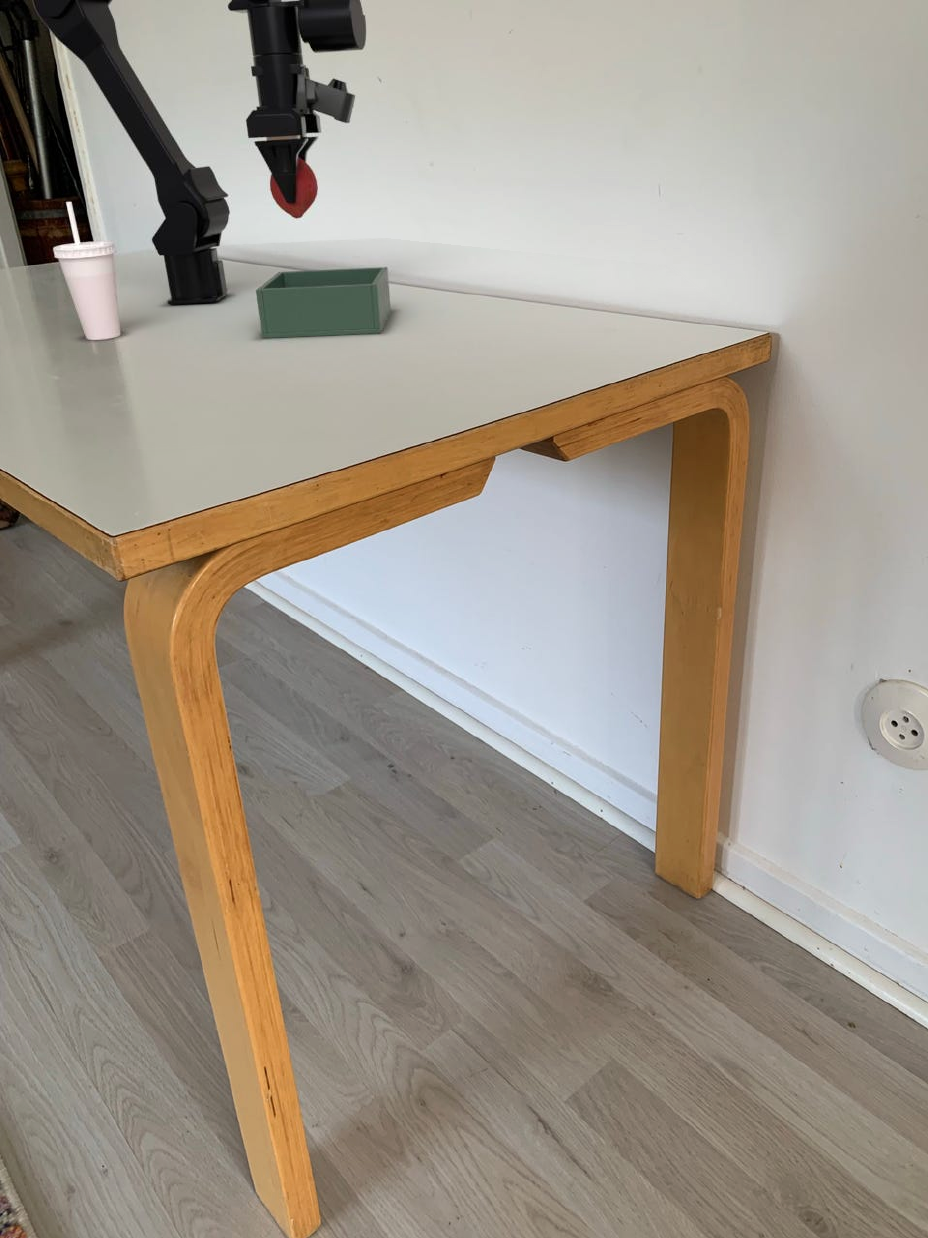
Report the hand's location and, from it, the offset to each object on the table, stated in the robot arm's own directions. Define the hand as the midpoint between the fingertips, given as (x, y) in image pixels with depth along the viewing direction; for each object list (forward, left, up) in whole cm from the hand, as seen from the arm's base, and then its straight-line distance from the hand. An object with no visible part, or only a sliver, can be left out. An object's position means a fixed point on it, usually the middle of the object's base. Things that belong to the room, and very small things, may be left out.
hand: (295, 201), depth 119 cm
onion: (0, 0, -2) cm, 2 cm away
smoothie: (-20, -19, -12) cm, 30 cm away
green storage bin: (+6, -18, -12) cm, 22 cm away
